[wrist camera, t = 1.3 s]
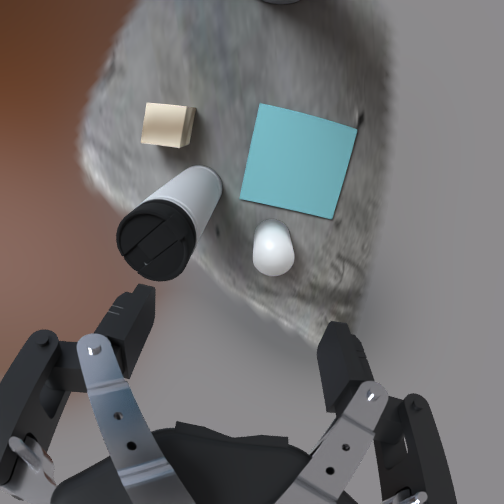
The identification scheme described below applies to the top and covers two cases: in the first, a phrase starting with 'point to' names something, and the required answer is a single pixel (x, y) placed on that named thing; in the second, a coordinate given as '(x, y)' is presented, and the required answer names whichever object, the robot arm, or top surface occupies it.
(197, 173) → the travel mug
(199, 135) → the top surface
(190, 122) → the birch block
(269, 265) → the white plastic capsule
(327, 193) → the teal mat
